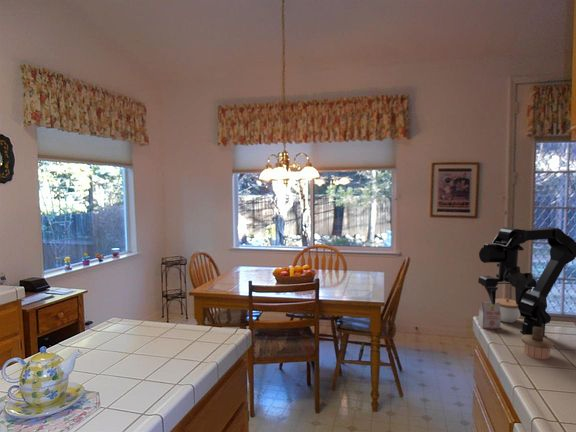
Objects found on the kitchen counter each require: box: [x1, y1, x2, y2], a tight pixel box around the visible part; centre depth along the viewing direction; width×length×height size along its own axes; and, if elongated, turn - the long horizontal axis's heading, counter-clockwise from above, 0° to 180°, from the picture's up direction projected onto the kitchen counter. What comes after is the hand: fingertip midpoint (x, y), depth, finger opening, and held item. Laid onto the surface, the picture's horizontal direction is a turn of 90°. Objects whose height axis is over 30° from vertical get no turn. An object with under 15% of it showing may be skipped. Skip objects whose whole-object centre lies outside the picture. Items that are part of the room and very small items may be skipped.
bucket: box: [523, 342, 551, 360], centre depth 128 cm, size 7×7×4 cm
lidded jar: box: [495, 297, 521, 323], centre depth 162 cm, size 11×11×9 cm
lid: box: [521, 326, 555, 349], centre depth 128 cm, size 9×9×5 cm
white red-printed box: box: [477, 301, 501, 330], centre depth 153 cm, size 4×7×10 cm, turn 88°
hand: (505, 304), depth 141 cm, fingers open, 9 cm apart
